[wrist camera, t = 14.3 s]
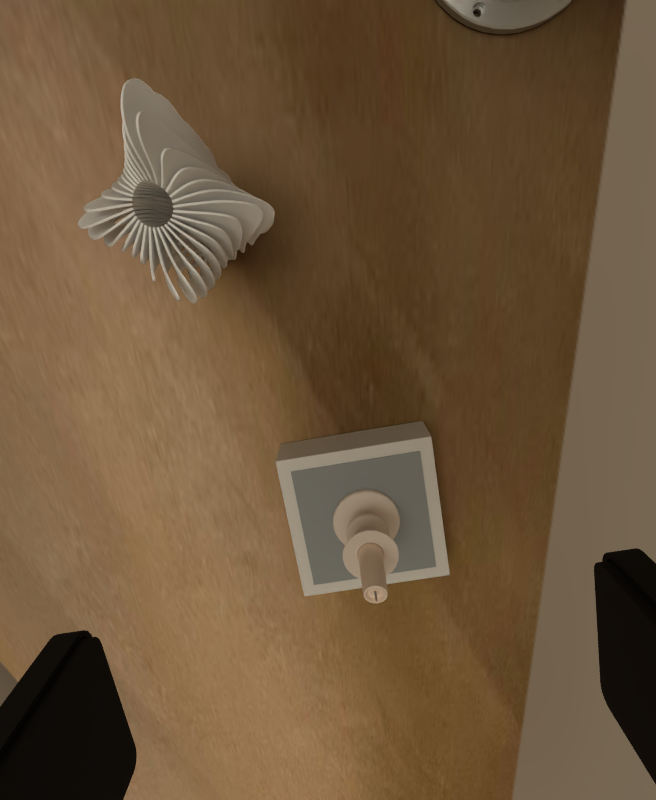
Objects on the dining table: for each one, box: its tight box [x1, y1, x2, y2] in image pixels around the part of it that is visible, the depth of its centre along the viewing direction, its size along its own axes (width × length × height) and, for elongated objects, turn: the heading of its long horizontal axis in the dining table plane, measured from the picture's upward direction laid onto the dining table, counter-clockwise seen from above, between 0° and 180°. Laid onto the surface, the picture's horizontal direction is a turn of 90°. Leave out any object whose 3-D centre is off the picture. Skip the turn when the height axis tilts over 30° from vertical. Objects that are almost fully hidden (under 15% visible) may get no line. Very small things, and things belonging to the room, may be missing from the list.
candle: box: [333, 489, 400, 603], centre depth 37 cm, size 5×5×10 cm
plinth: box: [276, 421, 450, 596], centre depth 44 cm, size 12×12×4 cm
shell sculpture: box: [78, 78, 275, 303], centre depth 32 cm, size 8×8×18 cm
